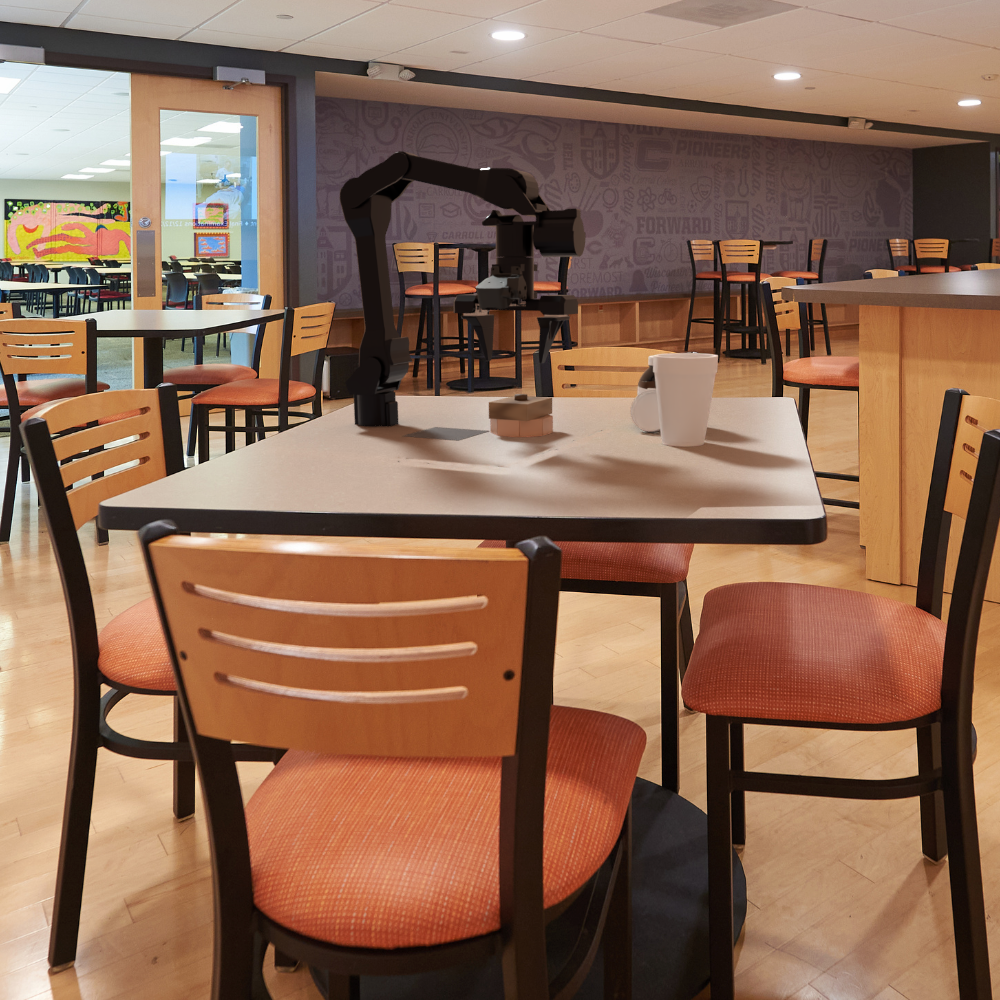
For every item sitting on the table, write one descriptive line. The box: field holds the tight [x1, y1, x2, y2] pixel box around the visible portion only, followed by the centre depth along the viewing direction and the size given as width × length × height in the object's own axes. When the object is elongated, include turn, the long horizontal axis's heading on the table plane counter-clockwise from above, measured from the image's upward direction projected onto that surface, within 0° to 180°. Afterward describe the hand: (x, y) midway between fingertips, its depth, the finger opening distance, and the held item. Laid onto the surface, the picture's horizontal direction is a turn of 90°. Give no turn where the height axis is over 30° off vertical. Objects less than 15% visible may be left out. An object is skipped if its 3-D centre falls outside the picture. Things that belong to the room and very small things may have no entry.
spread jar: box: [629, 354, 661, 434], centre depth 160 cm, size 12×11×12 cm
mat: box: [402, 426, 490, 441], centre depth 152 cm, size 10×10×1 cm
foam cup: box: [652, 352, 719, 448], centre depth 146 cm, size 10×9×13 cm
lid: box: [488, 393, 553, 421], centre depth 152 cm, size 6×9×3 cm
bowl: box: [489, 414, 554, 438], centre depth 153 cm, size 9×9×4 cm
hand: (514, 361), depth 151 cm, fingers open, 9 cm apart
